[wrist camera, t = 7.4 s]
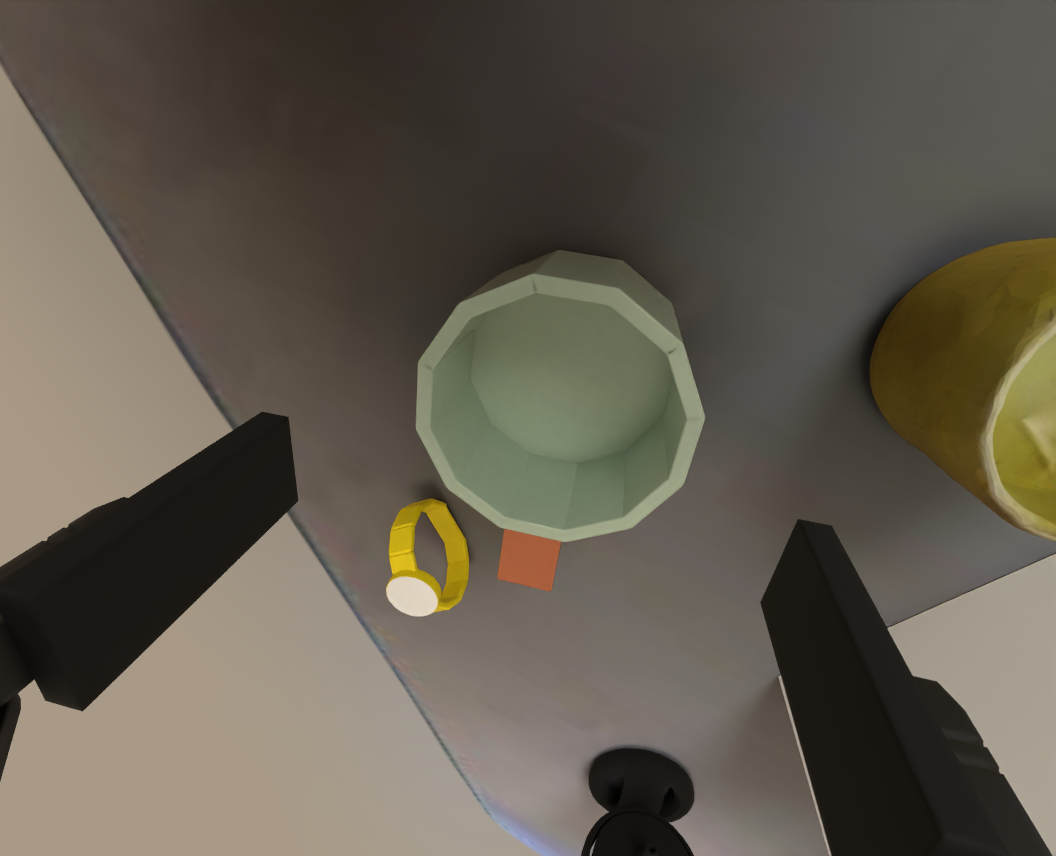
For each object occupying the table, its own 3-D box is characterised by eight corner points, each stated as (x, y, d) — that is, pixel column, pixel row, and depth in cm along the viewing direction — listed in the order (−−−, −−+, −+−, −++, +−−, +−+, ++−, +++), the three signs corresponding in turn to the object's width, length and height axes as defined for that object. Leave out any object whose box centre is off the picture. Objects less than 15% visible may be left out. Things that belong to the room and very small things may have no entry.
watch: (406, 488, 30) (358, 553, 25) (446, 477, 30) (405, 543, 24) (449, 566, 33) (413, 641, 27) (488, 558, 32) (458, 634, 26)
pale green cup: (472, 235, 22) (420, 254, 17) (714, 275, 21) (741, 308, 16) (453, 486, 28) (410, 560, 23) (640, 528, 27) (641, 615, 22)
